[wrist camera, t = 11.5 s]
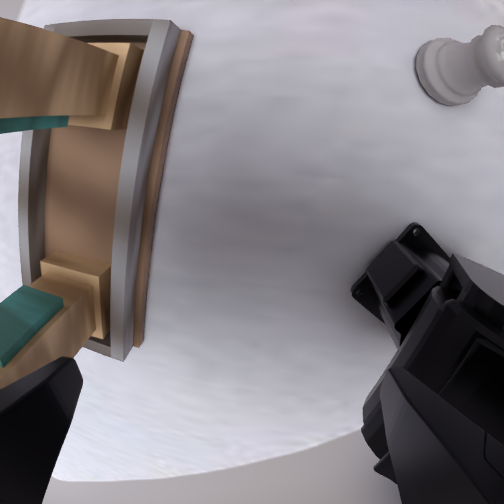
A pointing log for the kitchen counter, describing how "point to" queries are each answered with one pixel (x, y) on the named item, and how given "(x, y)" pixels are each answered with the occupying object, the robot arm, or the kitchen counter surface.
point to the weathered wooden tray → (92, 148)
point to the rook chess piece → (462, 66)
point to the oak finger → (53, 314)
